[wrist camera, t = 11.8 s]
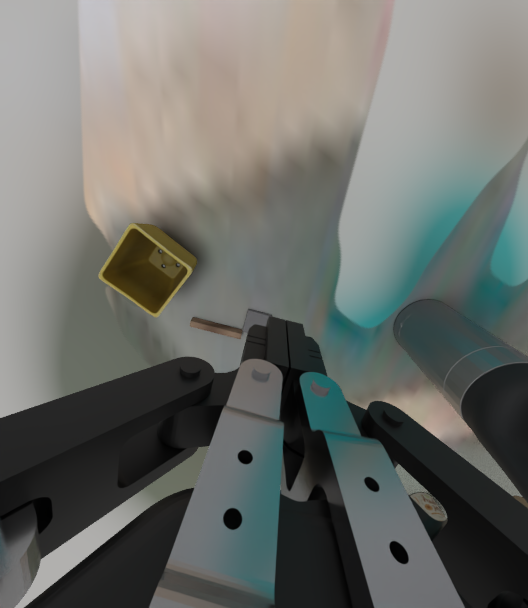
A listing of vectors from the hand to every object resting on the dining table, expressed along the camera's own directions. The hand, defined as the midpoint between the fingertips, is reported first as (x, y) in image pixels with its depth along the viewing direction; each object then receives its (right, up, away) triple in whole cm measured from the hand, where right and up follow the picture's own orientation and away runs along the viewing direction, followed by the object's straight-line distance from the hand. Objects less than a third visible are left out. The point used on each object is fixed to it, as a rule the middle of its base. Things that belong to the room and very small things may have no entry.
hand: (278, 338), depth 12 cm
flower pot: (-15, +9, +30) cm, 34 cm away
